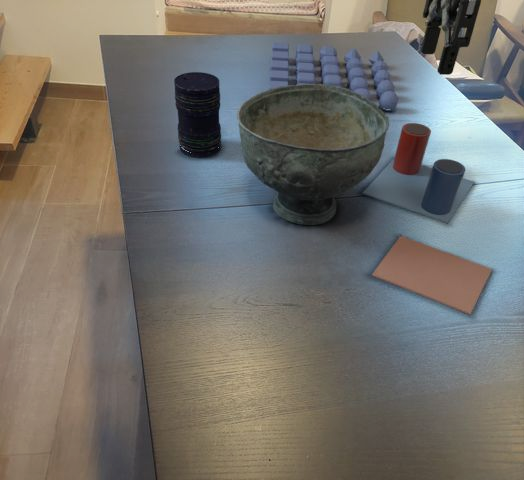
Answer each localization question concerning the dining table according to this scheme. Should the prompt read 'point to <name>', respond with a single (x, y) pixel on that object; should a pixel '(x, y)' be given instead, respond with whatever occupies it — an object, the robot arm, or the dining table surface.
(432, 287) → the rose mat
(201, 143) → the storage jar
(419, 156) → the red pot
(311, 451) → the dining table surface
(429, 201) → the blue pot
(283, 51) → the blocks
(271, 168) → the decorative bowl
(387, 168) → the blue mat
